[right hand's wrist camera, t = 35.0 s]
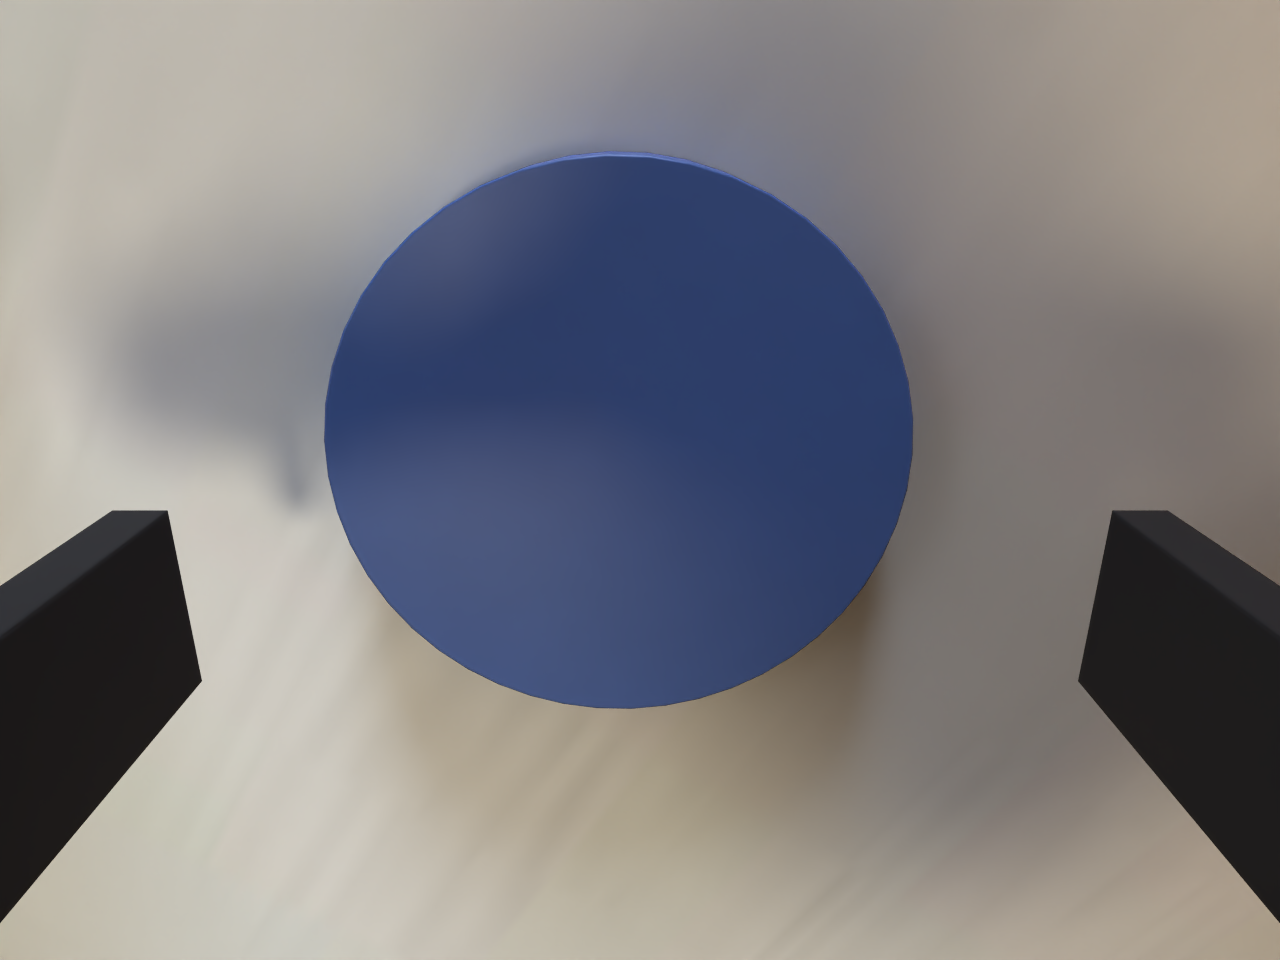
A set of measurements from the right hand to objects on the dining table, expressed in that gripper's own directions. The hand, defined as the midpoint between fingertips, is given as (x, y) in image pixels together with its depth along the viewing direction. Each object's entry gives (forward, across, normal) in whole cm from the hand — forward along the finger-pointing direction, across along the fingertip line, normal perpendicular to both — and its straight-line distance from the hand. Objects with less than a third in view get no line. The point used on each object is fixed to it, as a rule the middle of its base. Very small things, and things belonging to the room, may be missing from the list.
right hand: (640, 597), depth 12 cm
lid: (+4, 0, -1) cm, 4 cm away
